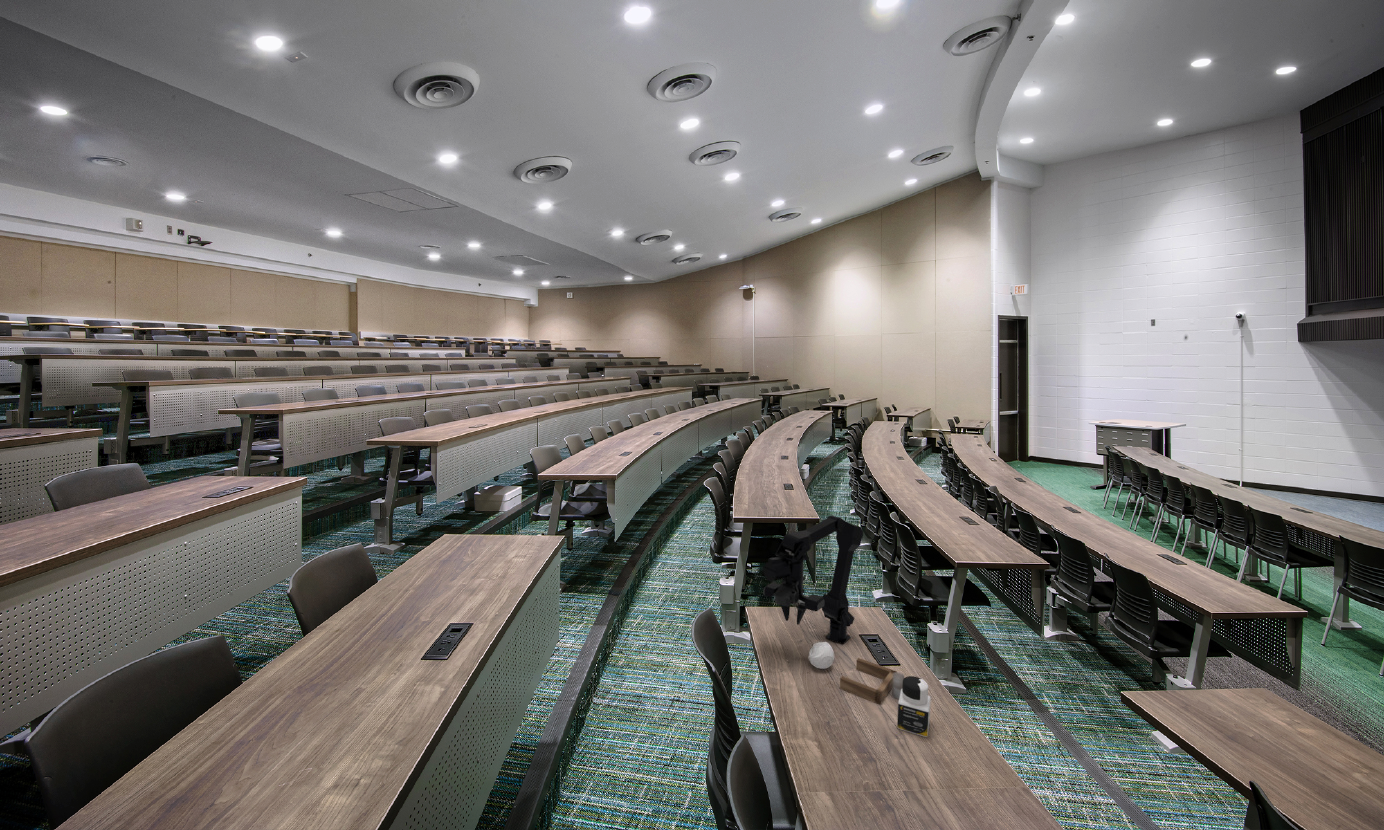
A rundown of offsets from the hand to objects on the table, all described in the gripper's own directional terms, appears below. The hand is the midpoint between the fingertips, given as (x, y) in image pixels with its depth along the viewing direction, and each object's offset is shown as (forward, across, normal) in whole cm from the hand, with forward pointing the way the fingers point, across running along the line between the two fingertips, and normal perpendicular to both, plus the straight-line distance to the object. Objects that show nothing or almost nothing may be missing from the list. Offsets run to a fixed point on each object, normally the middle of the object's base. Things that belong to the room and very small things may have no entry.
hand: (792, 622), depth 167 cm
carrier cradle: (+11, +27, 0) cm, 29 cm away
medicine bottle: (+11, +40, -10) cm, 43 cm away
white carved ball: (+11, +10, 0) cm, 15 cm away
